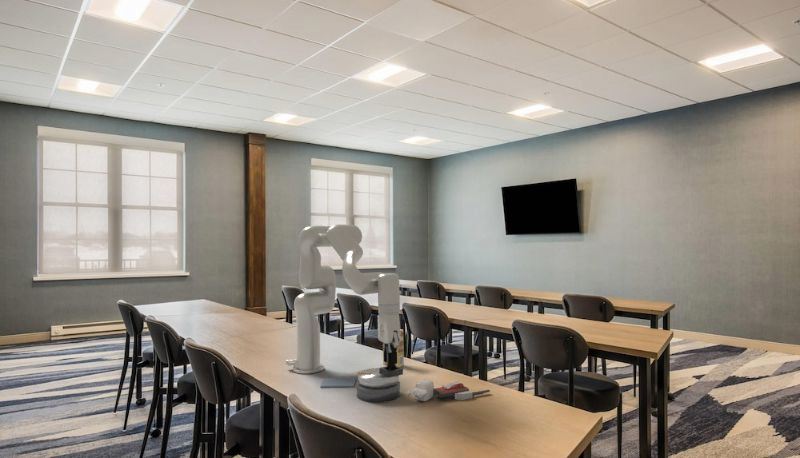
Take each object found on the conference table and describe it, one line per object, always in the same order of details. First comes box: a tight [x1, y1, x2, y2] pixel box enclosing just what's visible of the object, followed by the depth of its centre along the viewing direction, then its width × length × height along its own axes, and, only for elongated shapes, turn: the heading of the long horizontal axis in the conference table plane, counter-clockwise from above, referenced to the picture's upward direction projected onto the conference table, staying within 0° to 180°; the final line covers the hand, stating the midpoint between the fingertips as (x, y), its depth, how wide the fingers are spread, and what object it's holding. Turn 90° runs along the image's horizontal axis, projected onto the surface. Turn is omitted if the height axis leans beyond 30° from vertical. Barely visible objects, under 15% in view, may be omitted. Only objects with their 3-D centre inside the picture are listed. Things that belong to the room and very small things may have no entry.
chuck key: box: [386, 344, 396, 371], centre depth 161 cm, size 3×3×10 cm
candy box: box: [382, 328, 405, 368], centre depth 199 cm, size 9×4×15 cm, turn 49°
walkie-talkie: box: [433, 381, 491, 402], centre depth 160 cm, size 9×4×20 cm
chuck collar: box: [356, 365, 404, 389], centre depth 161 cm, size 14×14×5 cm
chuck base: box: [356, 381, 401, 404], centre depth 161 cm, size 15×15×4 cm
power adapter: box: [406, 379, 435, 402], centre depth 154 cm, size 11×5×6 cm, turn 145°
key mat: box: [320, 376, 356, 389], centre depth 174 cm, size 12×10×1 cm
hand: (390, 362), depth 161 cm, fingers closed on chuck key, 3 cm apart
